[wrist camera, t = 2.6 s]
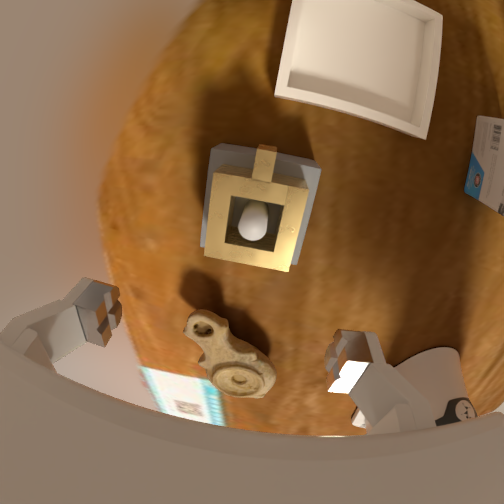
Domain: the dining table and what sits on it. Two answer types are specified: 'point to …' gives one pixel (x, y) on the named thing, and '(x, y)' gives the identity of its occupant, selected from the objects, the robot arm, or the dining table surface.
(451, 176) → the dining table surface
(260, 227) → the grey pegged cube
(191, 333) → the oil lamp
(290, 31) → the tray
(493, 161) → the ink box
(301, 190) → the tan square frame block
